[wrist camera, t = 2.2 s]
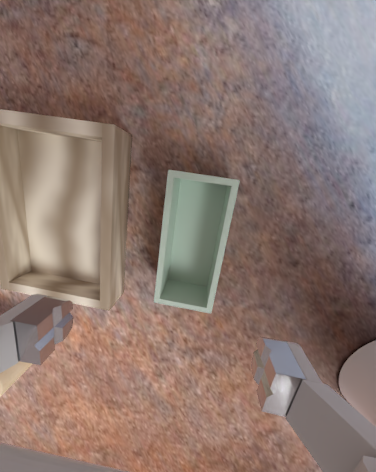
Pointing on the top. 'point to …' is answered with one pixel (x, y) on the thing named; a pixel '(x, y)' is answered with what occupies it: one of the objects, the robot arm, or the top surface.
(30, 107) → the top surface
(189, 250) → the green crate
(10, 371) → the candle
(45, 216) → the box
